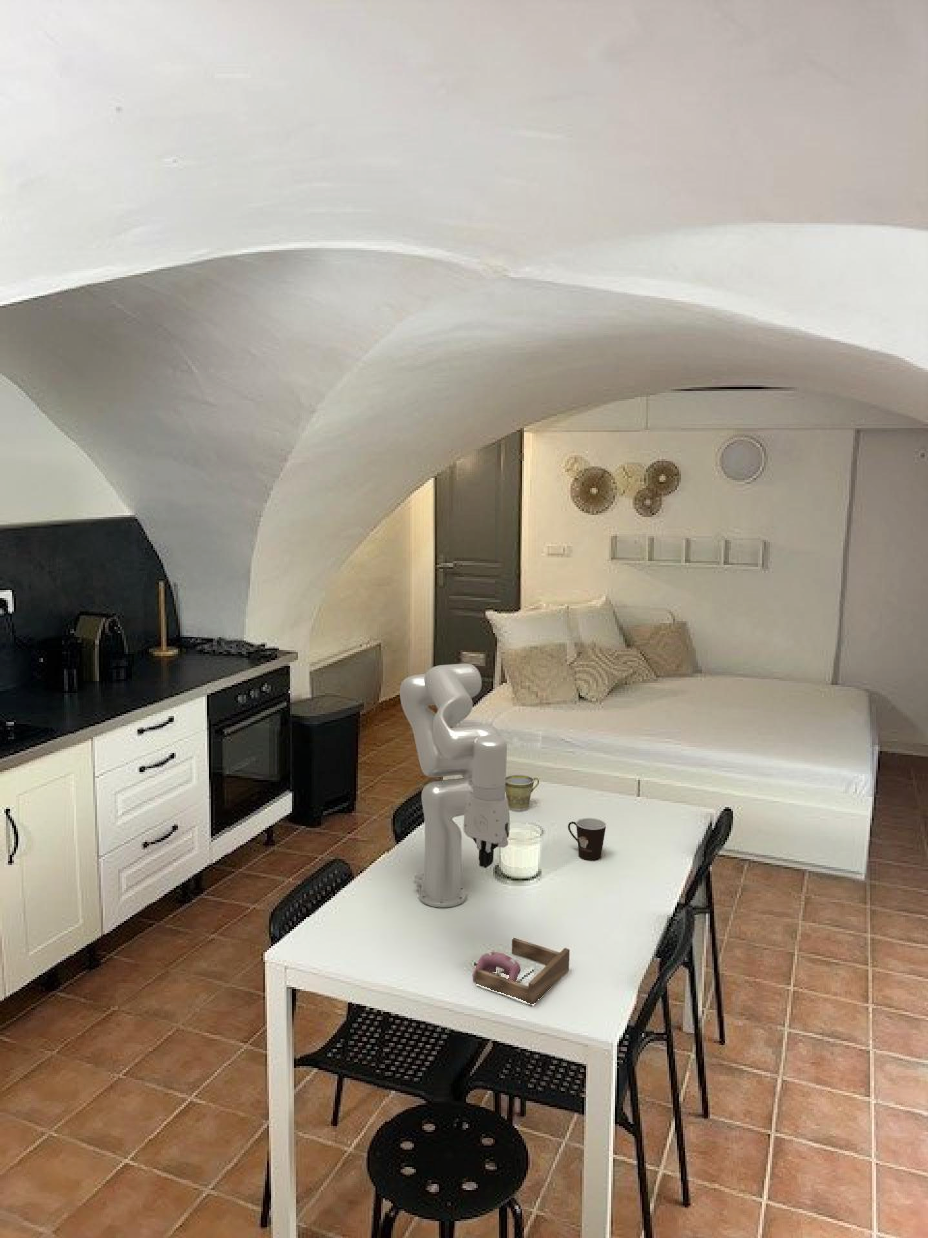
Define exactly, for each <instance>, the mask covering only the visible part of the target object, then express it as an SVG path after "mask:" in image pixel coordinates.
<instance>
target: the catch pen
mask: <svg viewBox="0 0 928 1238" xmlns="http://www.w3.org/2000/svg"><path fill="white" fill-rule="evenodd" d="M511 954H512V955H515V956H518V957H521V958H524V959H526V960H530V961H533V962H536V963H539V964H541V965H545V966H544V968H542V969H541V970H540V971H539V972H538V973H537V974H536V975H535V976H534V977H533V978H532V979H531V980H530V981H528V985H525V984H522V983H520V982H517V981H516V982H514V981H512V980H509V979H506V978H503V977H500V976H499V975H495V974H492V973H489V972H486V970H485V971H483V970H481V969H477V970H476V976H475V981H474V982H475V983H476V984H479V985H481V986H484V987H487V988H490V989H491V990H494V991H497V992H501V993H504V994H506V995H510V996H512V997H516V998H518V999H521V1000H523V1001H526V1002H527V1003H530V1004H534V1003H536V1002H537V1001H538V999H540V998H541V997H542V996H543V995H544V994H545V993H546V992H547V991H548V990H549V989H550V988H551V987H552V986H553V985H554V984H555V985H556V984H557V983H558V982H559V981H560V980H561V979H562V978H561V977H564V975H566V974H567V973H568V971H569V970H570V949H569V948H567V947H564V948H563V949H562V950H561V951H560V952H559V951H557V950H554V949H550V948H548V947H544V946H541V945H538V944H535V943H533V942H529V941H526V940H523V939H519V938H517V937H513V938H512V939H511ZM555 985H554V986H555ZM554 986H553V987H554ZM553 987H552V988H553ZM552 988H551V989H552ZM551 989H550V990H551ZM550 990H549V991H550ZM549 991H548V992H549ZM548 992H547V993H548ZM547 993H546V994H547ZM546 994H545V995H546ZM545 995H544V996H545ZM544 996H543V997H544ZM543 997H542V998H543ZM542 998H541V999H542ZM541 999H540V1000H541ZM538 1002H539V1001H538ZM538 1002H537V1003H538ZM537 1003H536V1004H537Z"/></svg>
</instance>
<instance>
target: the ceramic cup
mask: <svg viewBox="0 0 928 1238" xmlns="http://www.w3.org/2000/svg"><path fill="white" fill-rule="evenodd" d="M535 781H537V784H535V786H534V783H535ZM539 784H540V779H539V778H537V777H532V776H531V775H526V774H520V773H519V774H510V775H509V774H508V775H506V784H505V797H507V800H508V805H509V811H511V812H517V813H518V812H519V813H520V812H526V811H528V808H529V805H530V801H531V795H532V793H533V792H534V790H536V788H537V787H538V786H539Z"/></svg>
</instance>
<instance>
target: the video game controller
mask: <svg viewBox="0 0 928 1238" xmlns="http://www.w3.org/2000/svg"><path fill="white" fill-rule="evenodd" d="M497 968H499V969H502V971H501V972H500V973H504V974H506V975H509V978H508V979H509V980H512V981H514V982H517V981H516V980H518V978H519V975H520V973H521V970H522V969H521V964H520V963H519V962H517V961H516V960H515V959H514V958H512V957H511V956H509V955H508V954H505V953H501V952H495V951H493V952H491V951H487V952H485V953H484V954H483V955H482V956H480V958H479V960H478V962H477V964H476V965H475V968H474V971H473V973H472V980H473V981H474V980H475V976H476V970H477V969H481V970H483V971H486V972H489V973H492V972H496V969H497ZM492 974H493V973H492ZM517 977H518V978H517Z"/></svg>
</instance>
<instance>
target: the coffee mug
mask: <svg viewBox="0 0 928 1238" xmlns="http://www.w3.org/2000/svg"><path fill="white" fill-rule="evenodd" d="M571 825H574V826H576V827H575V828H576V835H575V834H574V833H573V832H572V830H571ZM606 828H607V823H606V822H605V821H604V820H602V819H599V818H593V817H585V818H583V817H582V818H580V819H577V820H576V821H570V822H569V823H568V824H567V829H568V832H569V834H570V835H571V836H572V838H573V839H574V840H575V842H577V848H578V849H577V851H578V857H579V858H580V859H581V860H583V859H584V861H587V862H597V861H599V860H600V859H602V852H603V848H604V847H603V846H604V840H605V834H606ZM576 836H577V837H576Z"/></svg>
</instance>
